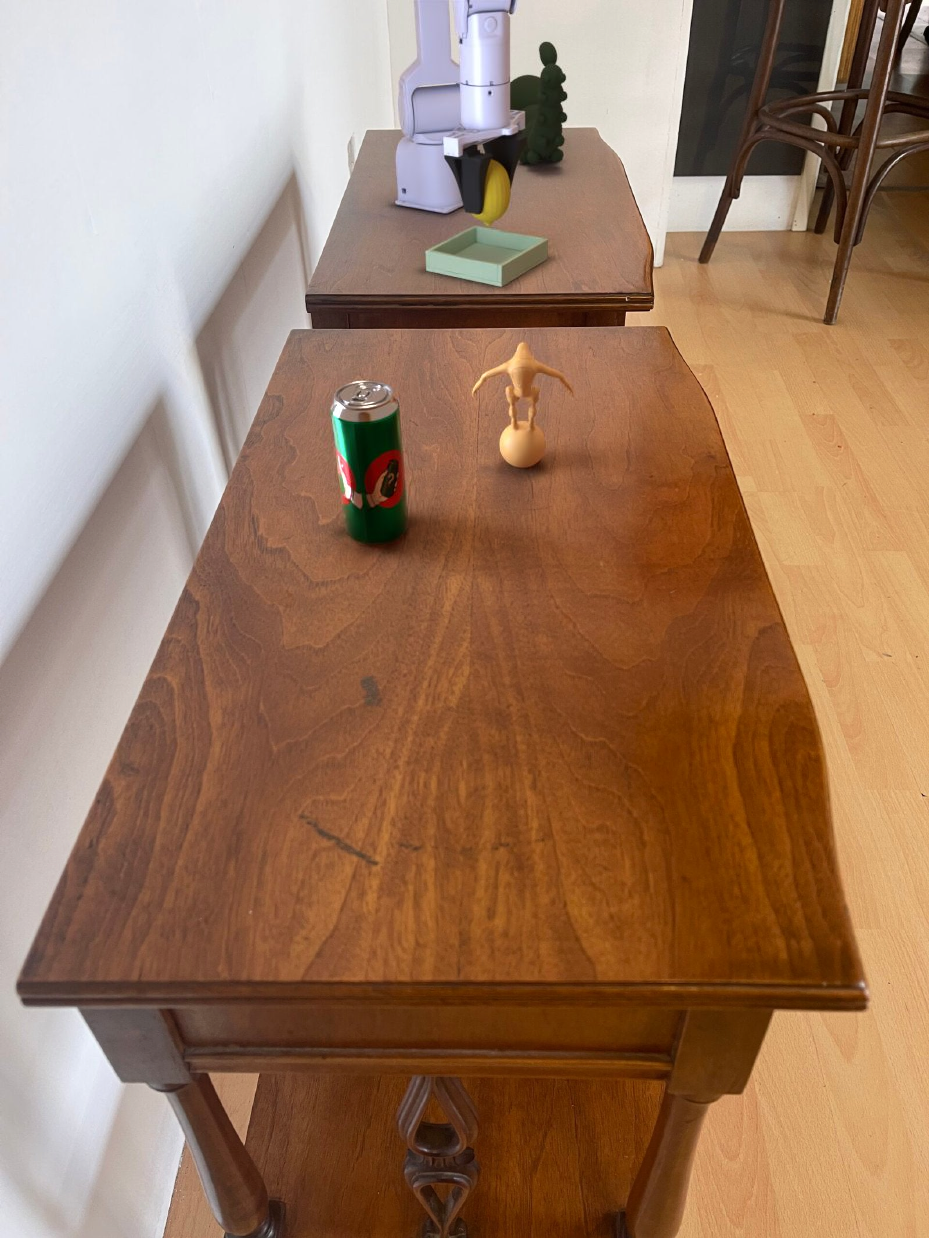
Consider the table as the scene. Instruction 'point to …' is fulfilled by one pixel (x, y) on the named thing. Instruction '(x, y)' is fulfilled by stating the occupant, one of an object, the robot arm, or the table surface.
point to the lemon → (495, 194)
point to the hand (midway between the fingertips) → (486, 206)
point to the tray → (487, 255)
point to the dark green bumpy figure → (541, 108)
